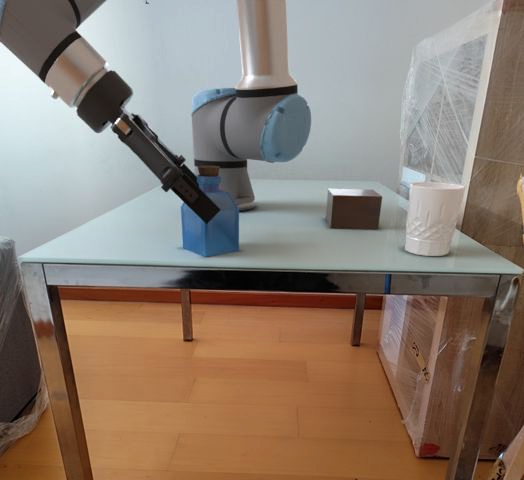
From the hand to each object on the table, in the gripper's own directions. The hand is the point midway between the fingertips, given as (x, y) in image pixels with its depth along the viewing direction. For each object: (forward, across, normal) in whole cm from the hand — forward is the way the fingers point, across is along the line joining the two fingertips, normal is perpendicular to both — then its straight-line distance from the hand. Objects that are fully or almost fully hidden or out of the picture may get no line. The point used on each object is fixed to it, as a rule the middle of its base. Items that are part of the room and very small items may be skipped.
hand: (210, 208), depth 71 cm
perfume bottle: (+4, 0, -5) cm, 6 cm away
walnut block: (+24, -18, +16) cm, 34 cm away
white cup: (+28, +3, +19) cm, 35 cm away
